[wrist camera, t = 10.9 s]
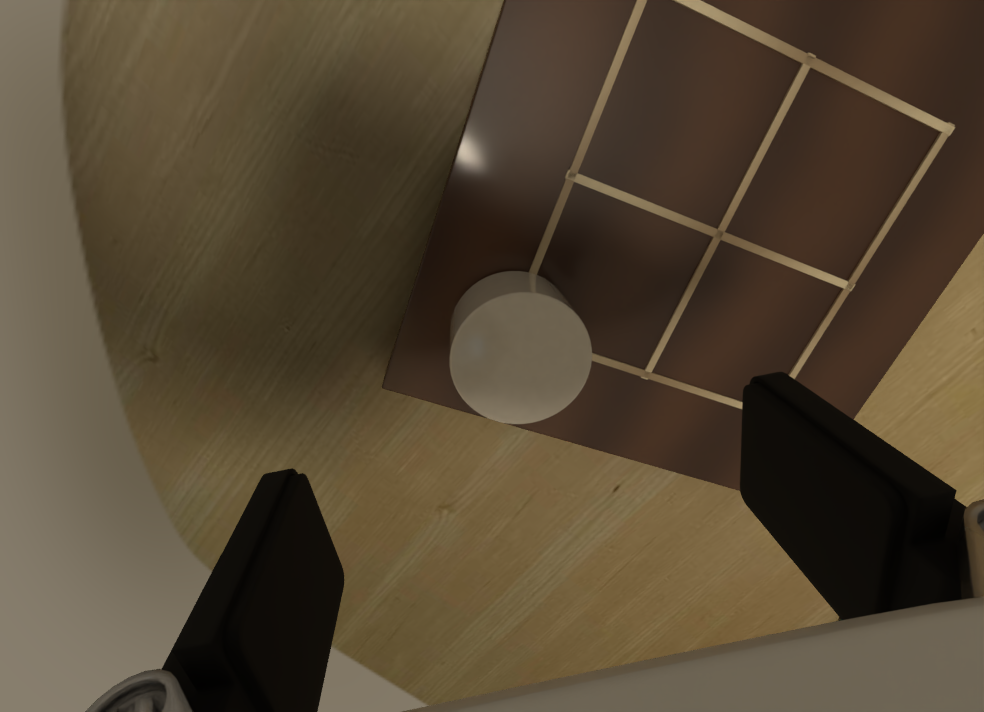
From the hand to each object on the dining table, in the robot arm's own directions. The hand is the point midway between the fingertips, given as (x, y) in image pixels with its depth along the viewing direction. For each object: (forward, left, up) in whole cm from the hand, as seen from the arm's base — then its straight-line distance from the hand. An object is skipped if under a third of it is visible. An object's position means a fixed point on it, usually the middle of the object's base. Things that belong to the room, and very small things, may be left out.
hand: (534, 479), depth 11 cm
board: (+7, +6, -11) cm, 14 cm away
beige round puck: (+1, 0, -10) cm, 10 cm away
